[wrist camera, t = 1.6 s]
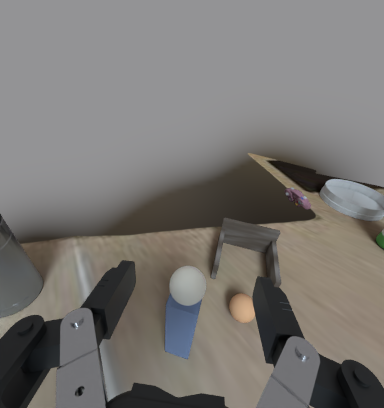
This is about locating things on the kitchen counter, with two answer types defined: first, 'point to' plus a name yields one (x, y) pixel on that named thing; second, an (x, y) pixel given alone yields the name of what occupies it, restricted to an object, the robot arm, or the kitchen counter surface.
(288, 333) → the robot arm
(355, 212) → the dish
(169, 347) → the figure
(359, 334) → the kitchen counter surface
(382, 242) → the wine bottle
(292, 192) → the video game controller
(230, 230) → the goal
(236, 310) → the ball
